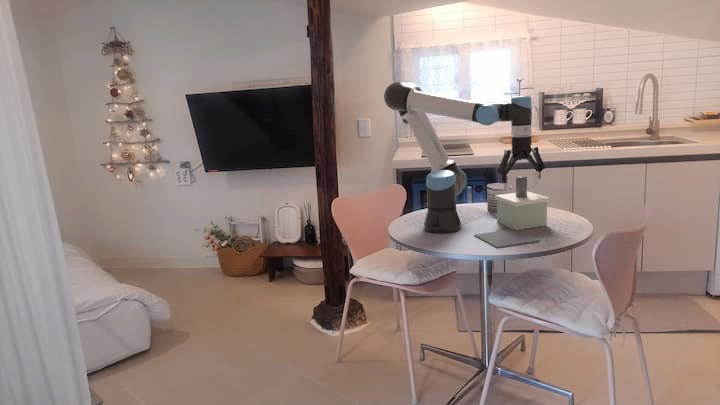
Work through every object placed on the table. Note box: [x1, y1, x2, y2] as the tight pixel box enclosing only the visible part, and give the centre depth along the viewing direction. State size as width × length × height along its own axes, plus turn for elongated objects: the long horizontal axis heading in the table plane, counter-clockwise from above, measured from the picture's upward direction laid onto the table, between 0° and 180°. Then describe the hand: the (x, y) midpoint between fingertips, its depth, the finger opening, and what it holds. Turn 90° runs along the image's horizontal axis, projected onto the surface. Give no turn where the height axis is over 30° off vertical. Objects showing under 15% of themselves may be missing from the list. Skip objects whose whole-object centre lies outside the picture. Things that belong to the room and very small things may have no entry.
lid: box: [495, 175, 550, 206], centre depth 197 cm, size 15×15×10 cm
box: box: [496, 200, 548, 231], centre depth 199 cm, size 14×14×10 cm
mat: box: [474, 228, 540, 249], centre depth 182 cm, size 17×17×1 cm
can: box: [486, 182, 514, 214], centre depth 223 cm, size 11×11×12 cm
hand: (521, 188), depth 197 cm, fingers open, 13 cm apart
